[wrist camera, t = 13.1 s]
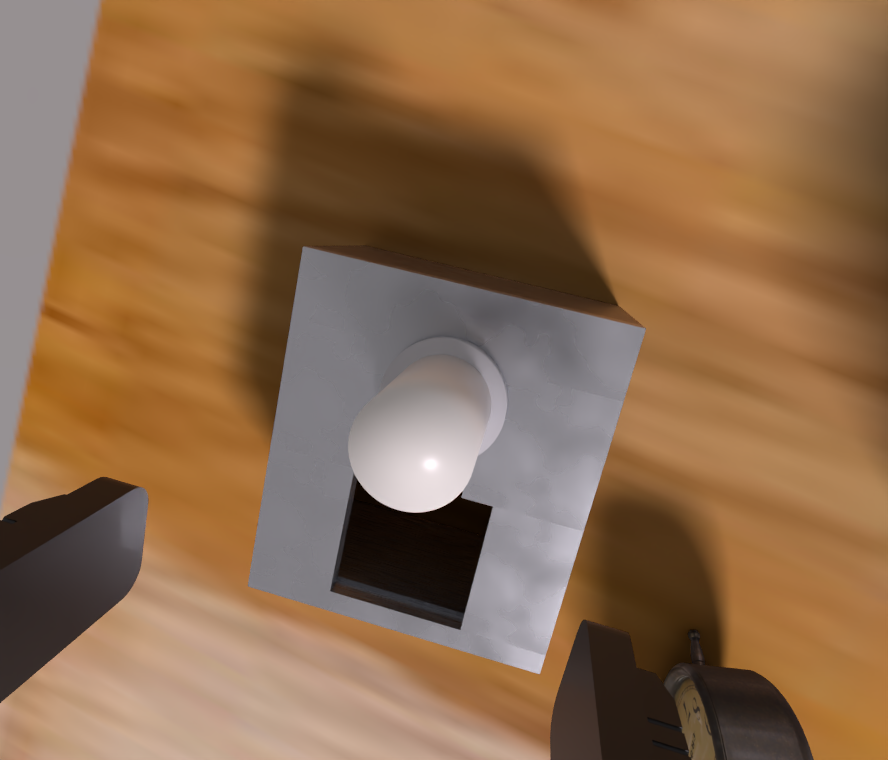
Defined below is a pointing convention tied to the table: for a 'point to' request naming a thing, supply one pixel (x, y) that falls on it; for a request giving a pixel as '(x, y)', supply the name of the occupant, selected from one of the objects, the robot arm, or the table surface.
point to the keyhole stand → (496, 469)
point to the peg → (428, 424)
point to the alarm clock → (733, 713)
